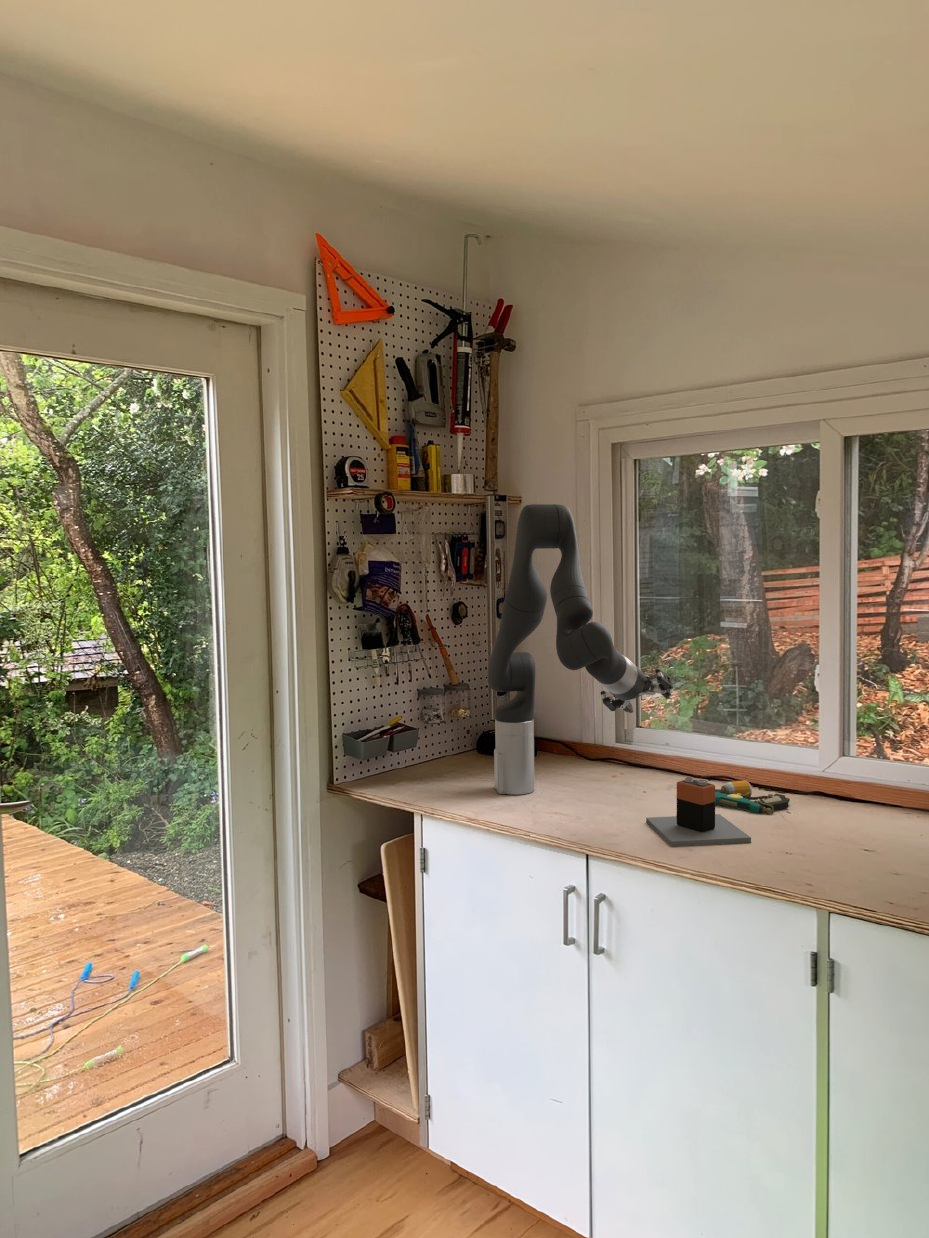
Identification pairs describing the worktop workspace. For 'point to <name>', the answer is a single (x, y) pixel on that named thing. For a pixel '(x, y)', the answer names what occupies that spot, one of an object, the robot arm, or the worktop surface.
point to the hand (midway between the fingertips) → (649, 701)
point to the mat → (697, 832)
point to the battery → (696, 804)
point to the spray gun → (748, 798)
